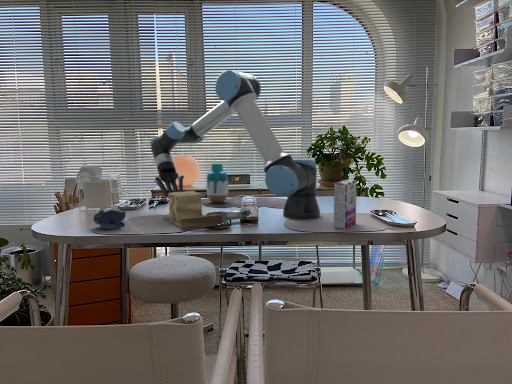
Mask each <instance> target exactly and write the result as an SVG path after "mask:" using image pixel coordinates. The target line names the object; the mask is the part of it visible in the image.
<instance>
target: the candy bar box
mask: <svg viewBox="0 0 512 384" xmlns="http://www.w3.org/2000/svg"><path fill="white" fill-rule="evenodd" d="M333 188H334V189H333V228H334V227H336V228H335V229H340V228H344V229H345V230H346V229H349V228H350V227H352V226H354V225H355V224H356V222H357V220H356V218H357V180H354V179H344V180H340V181H338V182H335V183H333ZM351 225H352V226H351ZM348 227H349V228H348ZM344 229H343V230H344Z"/></svg>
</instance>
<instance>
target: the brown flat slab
mask: <svg viewBox="0 0 512 384" xmlns="http://www.w3.org/2000/svg"><path fill="white" fill-rule="evenodd" d="M163 219H164V220H166V221H168V222H169V223H170V224H172V225H173V226H175V227H177V228H178V229H180V230H182V231H184V230H186V231H187V230H188V231H191V230H195V229H196V230H199V229H203V228H204V229H207V228H208V227H209V226H210V225H217V224H222V219H221V214H220V213H217V214H211V215H204V214H203V213H202V216H199V217H190V218H181V222H177V221H175V220H173V219H172V218H170V217H169V216H167V215H165V216H163ZM222 225H223V224H222ZM210 227H211V226H210ZM210 227H209V228H210Z"/></svg>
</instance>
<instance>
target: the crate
mask: <svg viewBox="0 0 512 384" xmlns="http://www.w3.org/2000/svg"><path fill="white" fill-rule="evenodd" d="M168 196H169V197H168V210H169V211H168V213H169V214H168V215H169V216H168V217H170V218H172V219H173V220H175V221H177V222H181V218H190V217H199V216H202V214H203V211H202V207H203V206H202V205H203V204H202V203H203V202H202V198H203V194H202V193H199V192H197V191H194V190H186V191H185V190H183V192H174V191H173V192H171V193H168Z"/></svg>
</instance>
